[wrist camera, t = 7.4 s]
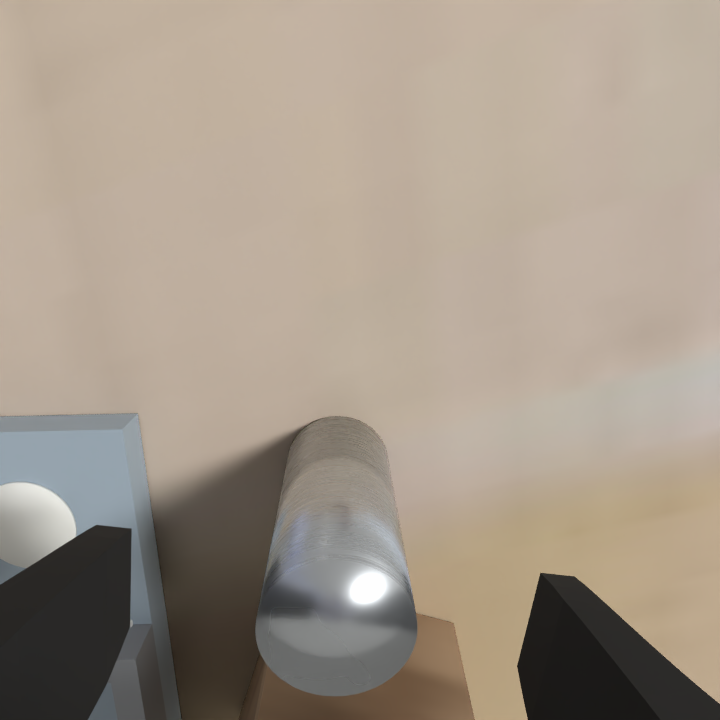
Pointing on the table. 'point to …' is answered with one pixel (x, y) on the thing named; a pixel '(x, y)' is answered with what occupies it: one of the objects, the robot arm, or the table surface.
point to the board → (81, 512)
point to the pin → (336, 566)
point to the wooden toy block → (377, 688)
